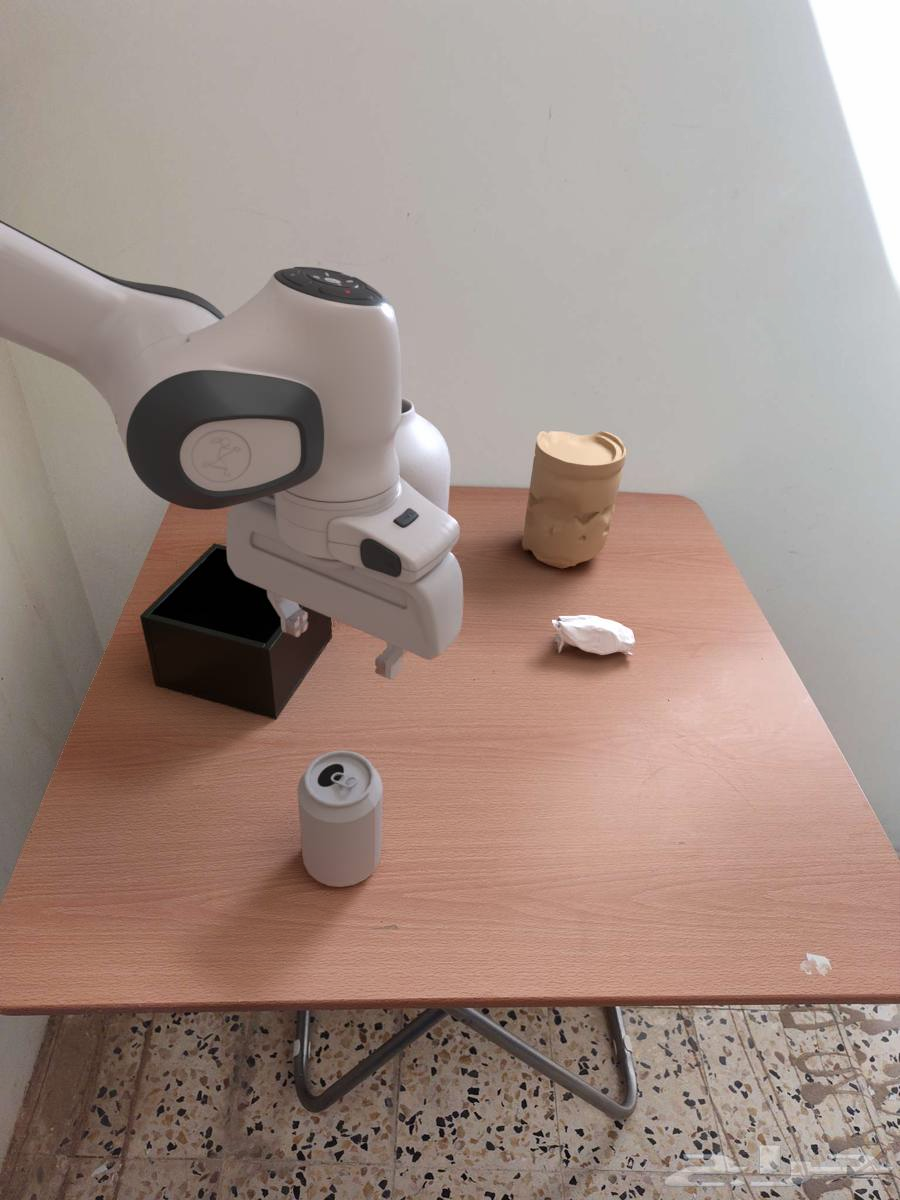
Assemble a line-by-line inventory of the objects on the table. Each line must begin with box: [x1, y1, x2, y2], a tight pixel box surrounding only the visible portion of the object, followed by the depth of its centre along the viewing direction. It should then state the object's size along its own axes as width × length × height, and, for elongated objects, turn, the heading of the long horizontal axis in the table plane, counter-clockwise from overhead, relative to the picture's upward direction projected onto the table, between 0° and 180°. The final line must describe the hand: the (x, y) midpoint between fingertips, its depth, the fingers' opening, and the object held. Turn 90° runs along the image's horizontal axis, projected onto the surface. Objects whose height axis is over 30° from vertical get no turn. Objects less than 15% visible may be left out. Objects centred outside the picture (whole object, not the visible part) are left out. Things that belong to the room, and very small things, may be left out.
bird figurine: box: [551, 614, 636, 657], centre depth 103 cm, size 5×7×10 cm
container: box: [521, 430, 627, 569], centre depth 117 cm, size 13×13×18 cm
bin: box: [139, 543, 333, 720], centre depth 95 cm, size 16×16×10 cm
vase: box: [395, 397, 452, 515], centre depth 110 cm, size 17×17×24 cm
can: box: [296, 749, 384, 888], centre depth 74 cm, size 8×8×12 cm
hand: (340, 651), depth 66 cm, fingers open, 8 cm apart
